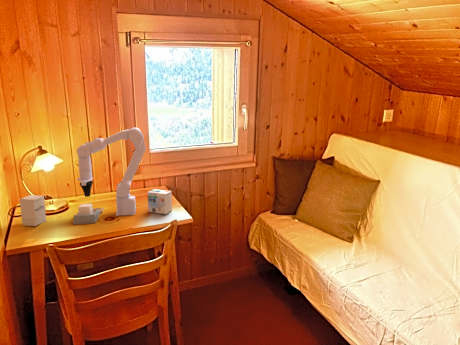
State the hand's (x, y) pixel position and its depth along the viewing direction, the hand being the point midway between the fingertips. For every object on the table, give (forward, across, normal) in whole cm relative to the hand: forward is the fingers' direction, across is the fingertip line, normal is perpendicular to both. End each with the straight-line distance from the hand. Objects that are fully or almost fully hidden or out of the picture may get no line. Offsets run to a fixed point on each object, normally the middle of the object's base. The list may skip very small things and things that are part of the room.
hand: (87, 196), depth 181 cm
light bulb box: (+10, -1, +35) cm, 36 cm away
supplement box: (+10, +7, -23) cm, 26 cm away
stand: (+10, -6, +3) cm, 12 cm away
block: (+9, +6, 0) cm, 11 cm away
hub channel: (+10, +5, 0) cm, 11 cm away
